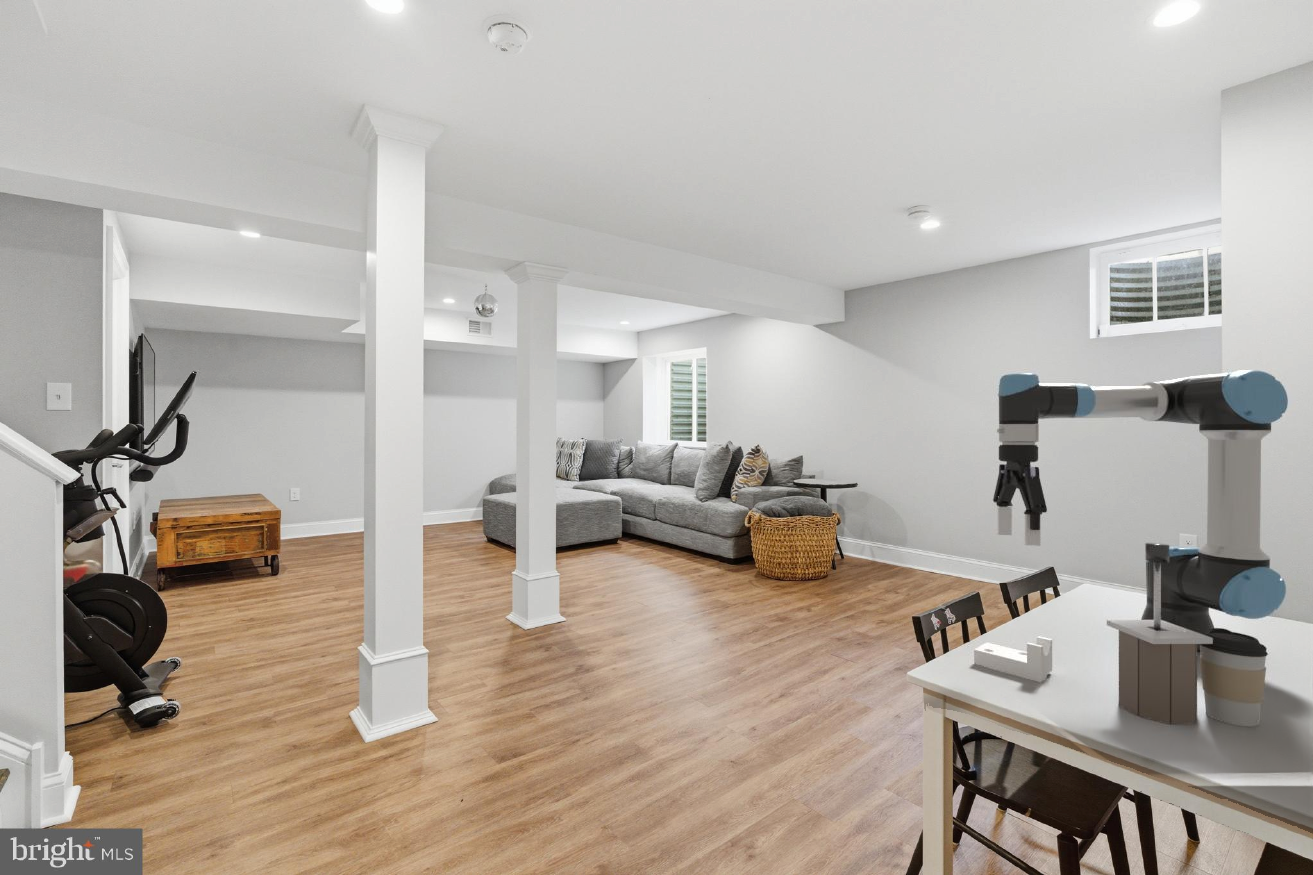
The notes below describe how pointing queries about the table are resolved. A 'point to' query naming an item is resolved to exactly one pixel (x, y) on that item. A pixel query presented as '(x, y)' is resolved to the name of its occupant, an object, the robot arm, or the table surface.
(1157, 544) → the plunger
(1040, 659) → the bracket
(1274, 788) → the table surface
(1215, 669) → the coffee cup
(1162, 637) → the brown pedestal
